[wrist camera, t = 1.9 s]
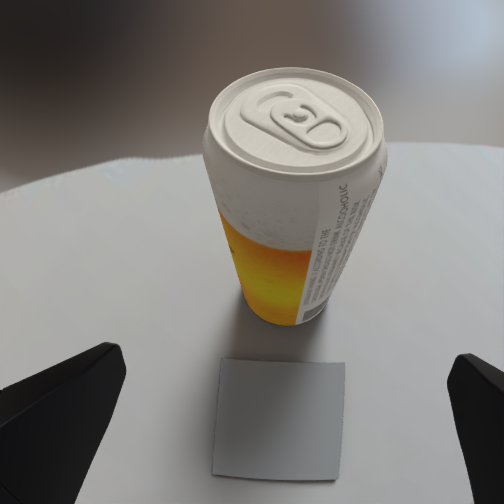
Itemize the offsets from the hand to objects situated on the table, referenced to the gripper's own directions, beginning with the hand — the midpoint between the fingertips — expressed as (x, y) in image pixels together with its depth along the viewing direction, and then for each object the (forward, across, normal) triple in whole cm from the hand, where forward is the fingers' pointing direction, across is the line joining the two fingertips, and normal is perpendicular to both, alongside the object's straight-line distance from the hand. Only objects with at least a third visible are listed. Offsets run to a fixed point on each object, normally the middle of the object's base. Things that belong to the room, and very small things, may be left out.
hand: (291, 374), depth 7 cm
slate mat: (+8, 0, +11) cm, 13 cm away
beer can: (+14, 0, +4) cm, 15 cm away
